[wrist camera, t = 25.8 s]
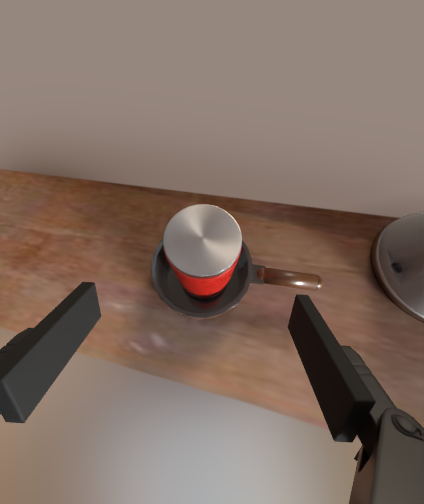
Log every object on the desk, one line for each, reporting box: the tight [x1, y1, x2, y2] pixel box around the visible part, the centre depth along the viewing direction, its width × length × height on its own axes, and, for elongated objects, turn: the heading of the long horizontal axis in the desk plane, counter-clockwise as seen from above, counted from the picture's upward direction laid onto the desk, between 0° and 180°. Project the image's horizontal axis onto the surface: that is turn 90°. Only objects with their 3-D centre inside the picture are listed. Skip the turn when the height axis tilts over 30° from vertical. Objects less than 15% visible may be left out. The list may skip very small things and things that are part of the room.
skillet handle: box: [250, 264, 323, 290], centre depth 25 cm, size 8×2×2 cm, turn 82°
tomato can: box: [163, 204, 242, 299], centre depth 23 cm, size 7×7×12 cm
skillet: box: [151, 239, 252, 320], centre depth 27 cm, size 11×11×4 cm
